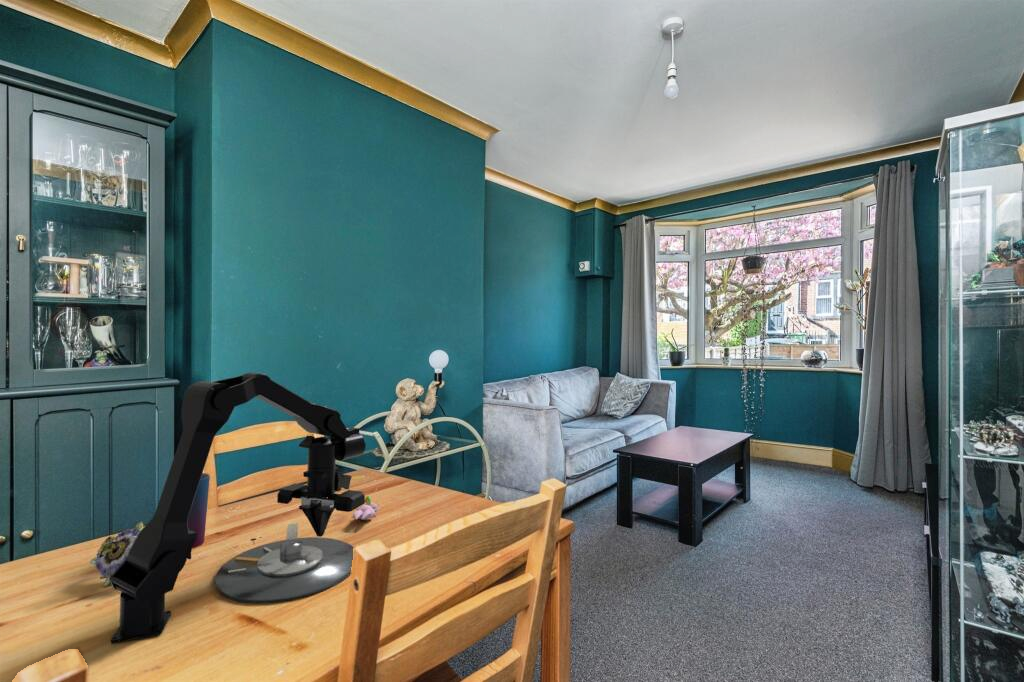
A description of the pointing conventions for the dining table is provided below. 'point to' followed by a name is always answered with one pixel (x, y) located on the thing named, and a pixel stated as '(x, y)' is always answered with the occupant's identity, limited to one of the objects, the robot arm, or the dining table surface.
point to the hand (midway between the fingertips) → (320, 535)
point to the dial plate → (254, 587)
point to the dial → (290, 556)
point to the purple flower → (366, 510)
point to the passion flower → (115, 552)
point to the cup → (199, 510)
